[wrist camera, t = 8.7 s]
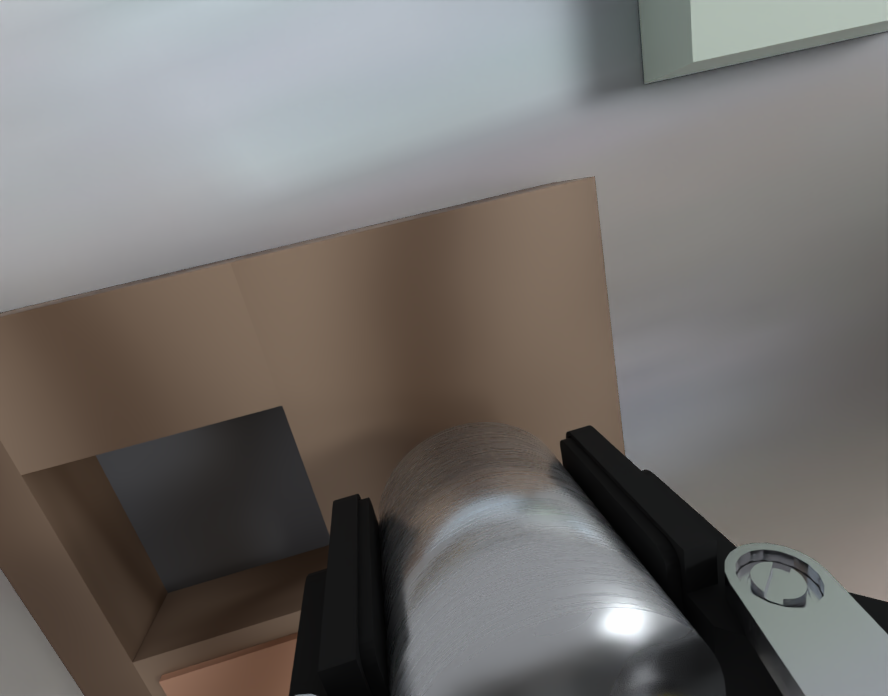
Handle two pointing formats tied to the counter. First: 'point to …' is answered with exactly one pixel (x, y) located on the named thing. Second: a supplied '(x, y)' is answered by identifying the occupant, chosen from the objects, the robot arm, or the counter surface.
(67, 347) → the walnut flange plate
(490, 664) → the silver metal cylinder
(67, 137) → the counter surface
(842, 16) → the tab
